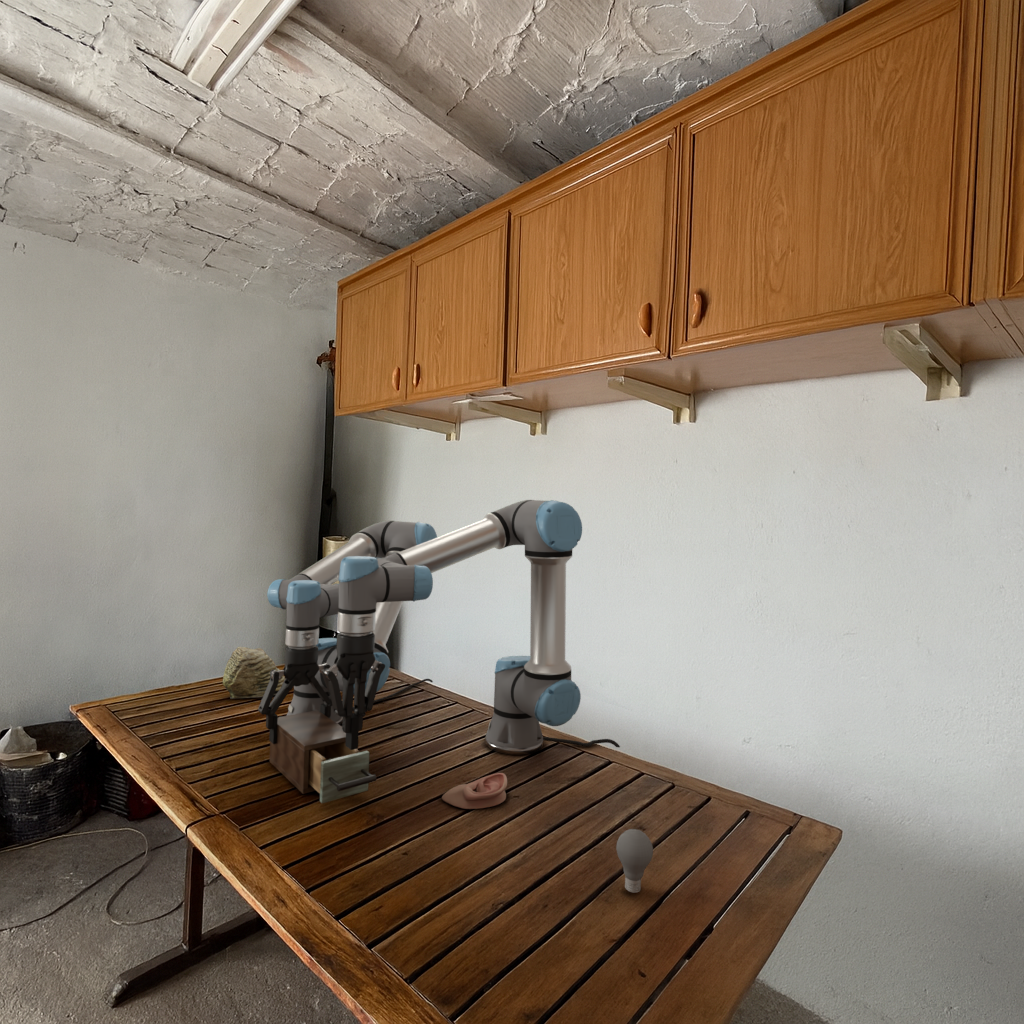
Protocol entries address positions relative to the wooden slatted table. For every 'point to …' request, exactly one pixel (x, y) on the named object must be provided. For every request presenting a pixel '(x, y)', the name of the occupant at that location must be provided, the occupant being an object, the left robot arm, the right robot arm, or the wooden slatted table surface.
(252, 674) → the fossil
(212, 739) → the wooden slatted table surface
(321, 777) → the drawer
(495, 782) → the anatomical model
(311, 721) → the cabinet
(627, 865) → the light bulb
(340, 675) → the left robot arm
